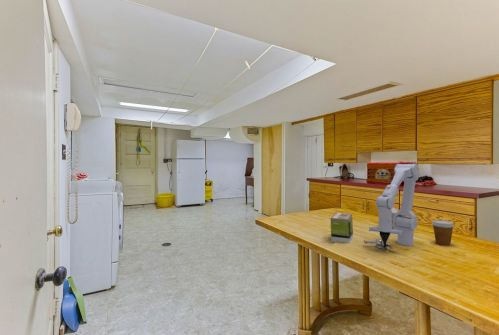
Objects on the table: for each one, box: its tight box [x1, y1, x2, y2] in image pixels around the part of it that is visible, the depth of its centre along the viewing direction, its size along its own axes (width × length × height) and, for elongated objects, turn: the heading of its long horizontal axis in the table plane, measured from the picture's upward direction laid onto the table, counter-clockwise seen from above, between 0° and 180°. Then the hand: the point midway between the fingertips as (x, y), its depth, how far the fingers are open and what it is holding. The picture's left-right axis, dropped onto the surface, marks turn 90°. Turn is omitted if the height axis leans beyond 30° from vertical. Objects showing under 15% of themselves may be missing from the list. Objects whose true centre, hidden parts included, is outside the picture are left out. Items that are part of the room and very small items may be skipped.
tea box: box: [330, 212, 354, 244], centre depth 143 cm, size 15×10×15 cm, turn 149°
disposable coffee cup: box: [431, 219, 455, 246], centre depth 133 cm, size 10×10×12 cm
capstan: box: [363, 237, 395, 250], centre depth 126 cm, size 12×14×4 cm
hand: (385, 247), depth 123 cm, fingers closed, pressing on capstan
